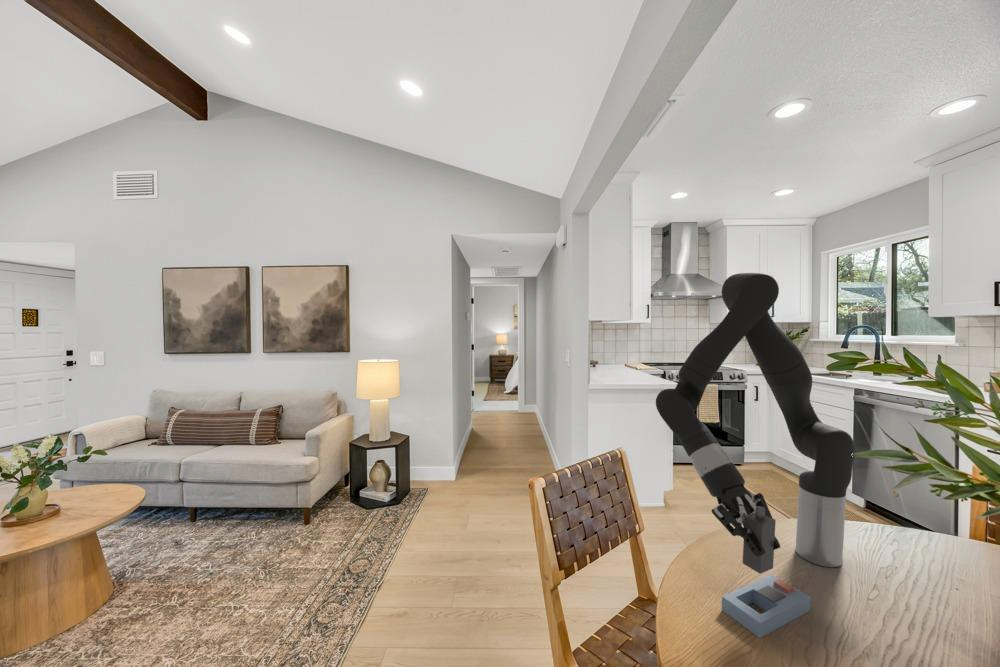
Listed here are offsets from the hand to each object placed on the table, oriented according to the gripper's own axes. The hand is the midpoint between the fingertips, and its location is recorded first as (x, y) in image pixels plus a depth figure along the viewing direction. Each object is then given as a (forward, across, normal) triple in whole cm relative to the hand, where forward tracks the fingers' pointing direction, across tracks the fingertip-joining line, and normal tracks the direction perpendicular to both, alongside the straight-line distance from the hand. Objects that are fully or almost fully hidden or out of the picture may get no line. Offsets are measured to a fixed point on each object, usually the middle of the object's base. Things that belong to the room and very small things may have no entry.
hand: (768, 551), depth 82 cm
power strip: (+9, +3, +12) cm, 15 cm away
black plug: (+2, 0, +4) cm, 5 cm away
